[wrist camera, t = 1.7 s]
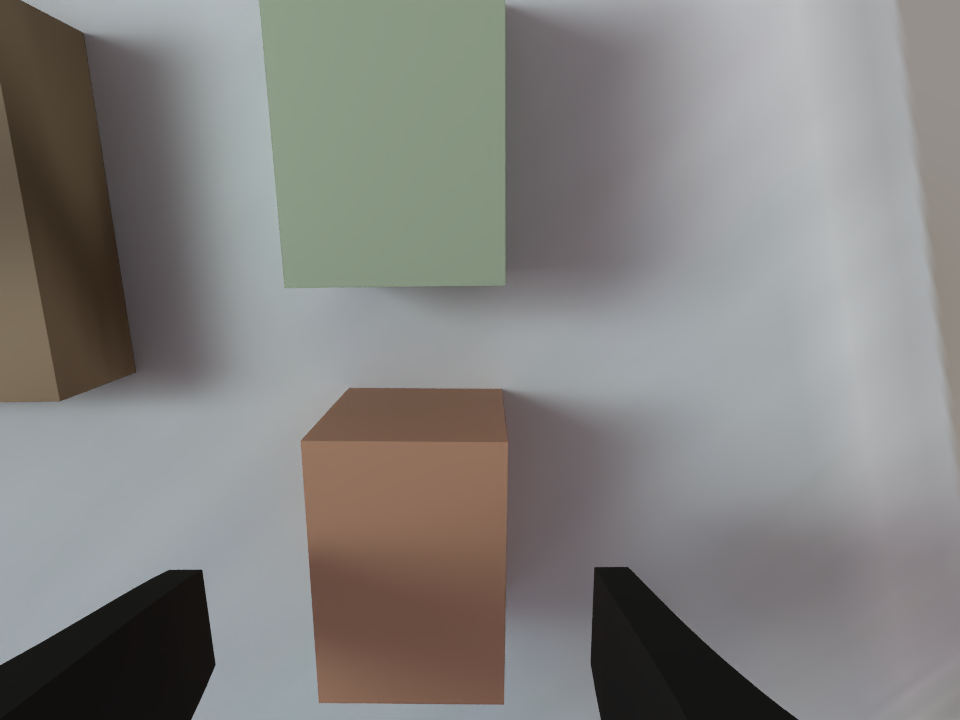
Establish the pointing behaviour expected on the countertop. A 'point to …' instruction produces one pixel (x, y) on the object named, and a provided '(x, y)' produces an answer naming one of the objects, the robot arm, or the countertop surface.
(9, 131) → the walnut slab
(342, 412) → the terracotta brick
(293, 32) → the sage brick
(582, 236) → the countertop surface
